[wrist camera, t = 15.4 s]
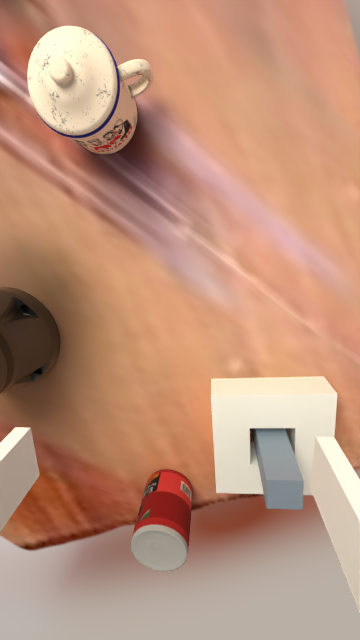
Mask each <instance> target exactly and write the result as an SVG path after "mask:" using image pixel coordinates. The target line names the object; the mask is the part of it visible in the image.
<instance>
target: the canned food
mask: <svg viewBox="0 0 360 640" xmlns="http://www.w3.org/2000/svg"><path fill="white" fill-rule="evenodd" d="M191 508H192V488H191V485H190V482H189V481H188V479H187V478H186V477H185V476H184V475H182V474H181V473H179V472H177V471H173V470H160V471H157V472H155V473H154V474H153V475H152V476H151V477H150V478H149V480H148V481H147V484H146V487H145V491H144V495H143V498H142V502H141V506H140V509H139V513H138V517H137V520H136V524H135V528H134V532H133V536H132V541H131V550H132V553H133V555H134V557H135V558H136V559H137V560H138V561H139V562H140V563H141V564H143V565H144V566H146V567H148V568H150V569H153V570H156V571H172V570H175V569H178V568H179V567H181V566H182V565H183V564H184V563H185V561H186V558H187V554H188V546H189V533H190V520H191Z"/></svg>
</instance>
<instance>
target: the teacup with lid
mask: <svg viewBox="0 0 360 640" xmlns="http://www.w3.org/2000/svg"><path fill="white" fill-rule="evenodd" d="M136 75H143V76H142V77H141V78H140V79H139V80H138V81H137V82H135V83H133V84H131V85H129V86H127V84H126V82H125V80H126V79H128V78H131V77H133V76H136ZM27 77H28V88H29V93H30V97H31V100H32V103H33V105H34V107H35V109H36V111H37V113H38V114H39V116H40V117H41V119H42V120H43V121H44V122H45V123H46V124H47V125H48V126H49V127H50V128H51V129H52V130H54V131H55V132H57V133H59V134H61V135H63V136H66V137H69V138H71V139H72V140H74V141H75V142H77V143H78V144H80V145H81V146H83V147H84V148H86V149H88V150H89V151H91V152H94V153H97V154H111V153H115V152H117V151H119V150H120V149H122V148H123V147H124V146H125V145H126V144H127V143H128V142H129V141H130V139H131V138H132V136H133V134H134V131H135V128H136V124H137V107H136V102H135V99H134V98H135V97H137V96H139V95H141V94H142V93H144V92H145V91H146V90H147V89H148V88H149V87H150V86H151V84H152V81H153V71H152V68H151V65H150V64H149V63H148V62H147V61H145V60H141V59H136V60H131V61H128V62H126V63H124V64H121V65H119V66H117V65H116V62H115V59H114V57H113V55H112V53H111V52H110V50H109V48H108V47H107V46H106V44H105V43H104V42H103V41H102V40H101V39H100V38H99V37H97V36H96V35H95V34H93V33H92V32H90V31H88V30H86V29H83V28H80V27H76V26H63V27H59V28H56V29H53V30H51V31H50V32H48V33H47V34H45V35H44V36H43V37H42V38H41V39H40V40H39V42H38V43H37V45H36V46H35V48H34V50H33V52H32V54H31V57H30V60H29V65H28V74H27Z"/></svg>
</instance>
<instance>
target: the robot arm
mask: <svg viewBox="0 0 360 640" xmlns="http://www.w3.org/2000/svg"><path fill="white" fill-rule="evenodd" d="M59 348H60V339H59V333H58V329H57V326H56V323H55V321H54V319H53V317H52V316H51V314H50V313H49V311H48V310H47V309H46V308H45V306H44V305H43V304H42V303H41V302H39V301H38V300H37V299H36V298H34V297H33V296H31V295H30V294H28V293H26V292H23V291H21V290H18V289H14V288H6V287H1V288H0V393H1V392H4V391H7V390H11V389H14V388H18V387H22V386H25V385H28V384H31V383H33V382H35V381H36V380H38V379H39V378H41V377H42V376H43V375H44V374H45V373H47V372H48V371H49V370H50V369H51V367H52V366H53V365H54V363H55V361H56V359H57V357H58V353H59ZM39 475H40V474H39V469H38V464H37V458H36V453H35V448H34V443H33V437H32V432H31V428H24V427H15V428H14V429H13V430H12V431H11V432H10V433H9V434H8V435H7V436H6V437H5V438H4V439H3V441H2V442H1V443H0V532H1V530H2V529H3V528H4V526H5V525H6V523H7V522H8V520H9V519H10V517H11V516H12V514H13V513H14V512H15V510H16V509H17V507H18V506H19V504H20V503H21V501H22V500H23V499H24V497H25V496H26V494H27V493H28V491H29V490H30V488H31V487H32V485H33V484H34V483H35V481H36V480H37V478H38V477H39ZM310 488H311V491H312V493H313V496H314V499H315V501H316V503H317V506H318V509H319V511H320V514H321V516H322V519H323V521H324V524H325V526H326V529H327V532H328V534H329V537H330V539H331V541H332V544H333V547H334V549H335V552H336V554H337V557H338V559H339V562H340V565H341V567H342V569H343V572H344V575H345V577H346V580H347V582H348V585H349V587H350V590H351V592H352V595H353V597H354V600H355V602H356V605H357V608H358V610H359V613H360V479H359V478H358V476H357V474H356V473H355V471H354V469H353V468H352V466H351V464H350V463H349V461H348V459H347V458H346V456H345V455H344V453H343V451H342V450H341V448H340V446H339V445H338V443H337V441H336V440H335V438H334V437H316V438H315V448H314V457H313V466H312V475H311V484H310Z"/></svg>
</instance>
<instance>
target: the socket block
mask: <svg viewBox="0 0 360 640" xmlns="http://www.w3.org/2000/svg"><path fill="white" fill-rule="evenodd" d="M211 404H212V422H213V440H214V458H215V477H216V493H239V494H264V493H263V487H262V482H261V477H260V472H259V466H258V461H257V456H256V451H255V445H254V442H250V428H287V436H288V438H289V441H290V444H291V447H292V449H293V452H294V455H295V458H296V461H297V463H298V466H299V469H300V472H301V474H302V477H303V480H304V489H303V495H313V493H312V491H311V488H310V484H311V475H312V466H313V457H314V448H315V438H316V437H334V436H335V421H336V406H337V393H336V392H335V390H334V389H333V388H332V386H331V385H330V384H329V383H328V381H327V380H326V379H325V377H324V376H320V377H273V378H226V379H211Z"/></svg>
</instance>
